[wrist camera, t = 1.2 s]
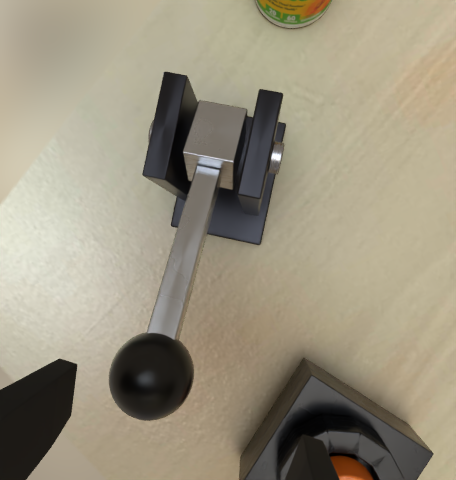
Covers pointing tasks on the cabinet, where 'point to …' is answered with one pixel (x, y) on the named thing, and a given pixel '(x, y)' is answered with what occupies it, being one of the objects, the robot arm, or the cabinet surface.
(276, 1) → the supplement bottle
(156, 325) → the lever
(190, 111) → the bracket
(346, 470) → the button
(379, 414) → the button housing
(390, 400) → the cabinet surface
